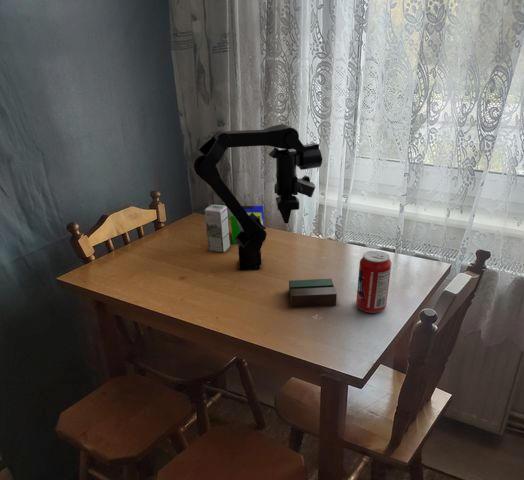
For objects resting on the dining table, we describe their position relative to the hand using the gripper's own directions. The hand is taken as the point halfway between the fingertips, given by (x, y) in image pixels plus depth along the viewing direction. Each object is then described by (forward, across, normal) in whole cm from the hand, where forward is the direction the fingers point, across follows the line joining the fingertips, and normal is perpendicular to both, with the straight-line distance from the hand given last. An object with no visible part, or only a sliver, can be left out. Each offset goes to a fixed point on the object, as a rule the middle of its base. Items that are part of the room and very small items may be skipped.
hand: (286, 222), depth 151 cm
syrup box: (+12, +10, +22) cm, 27 cm away
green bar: (+12, -24, -5) cm, 27 cm away
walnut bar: (+12, -29, -5) cm, 32 cm away
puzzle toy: (+12, +18, +12) cm, 25 cm away
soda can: (+12, -33, -20) cm, 40 cm away
